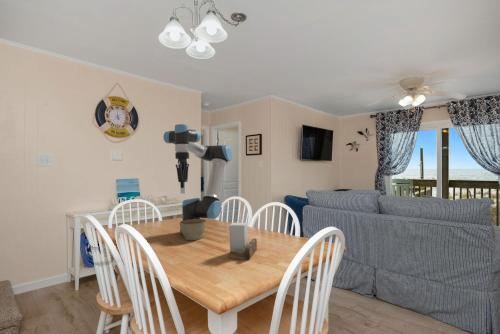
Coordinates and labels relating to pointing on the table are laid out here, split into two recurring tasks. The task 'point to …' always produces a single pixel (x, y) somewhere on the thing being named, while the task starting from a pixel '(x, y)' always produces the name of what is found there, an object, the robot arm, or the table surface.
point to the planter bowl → (192, 228)
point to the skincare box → (238, 237)
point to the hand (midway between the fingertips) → (183, 193)
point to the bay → (248, 253)
